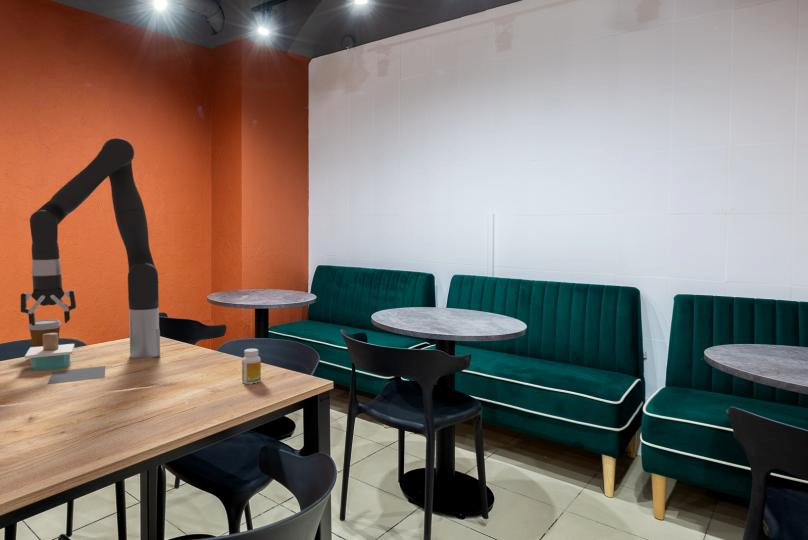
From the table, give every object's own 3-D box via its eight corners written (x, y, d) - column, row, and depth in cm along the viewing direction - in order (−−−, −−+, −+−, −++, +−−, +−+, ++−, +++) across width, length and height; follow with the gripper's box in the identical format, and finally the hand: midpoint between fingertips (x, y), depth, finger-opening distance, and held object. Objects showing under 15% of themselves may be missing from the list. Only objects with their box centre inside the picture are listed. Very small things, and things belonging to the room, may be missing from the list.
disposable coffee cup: (49, 359, 169) (48, 324, 168) (22, 358, 169) (20, 323, 168) (68, 352, 178) (67, 319, 177) (42, 351, 178) (41, 318, 177)
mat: (105, 367, 160) (105, 365, 160) (104, 379, 148) (104, 377, 148) (52, 373, 153) (52, 371, 153) (47, 385, 141) (47, 384, 141)
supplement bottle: (264, 380, 150) (264, 349, 149) (252, 385, 145) (252, 353, 144) (250, 378, 152) (250, 347, 152) (238, 382, 148) (237, 350, 147)
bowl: (71, 361, 166) (70, 346, 166) (68, 369, 158) (68, 353, 157) (34, 365, 161) (33, 350, 161) (29, 373, 153) (29, 357, 152)
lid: (74, 345, 167) (73, 329, 167) (72, 354, 157) (71, 336, 157) (30, 349, 161) (29, 332, 161) (24, 358, 151) (24, 339, 151)
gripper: (74, 271, 164) (77, 319, 165) (20, 273, 157) (24, 324, 158) (73, 273, 157) (76, 323, 159) (16, 275, 150) (20, 328, 152)
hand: (50, 323), depth 158 cm, fingers open, 8 cm apart
